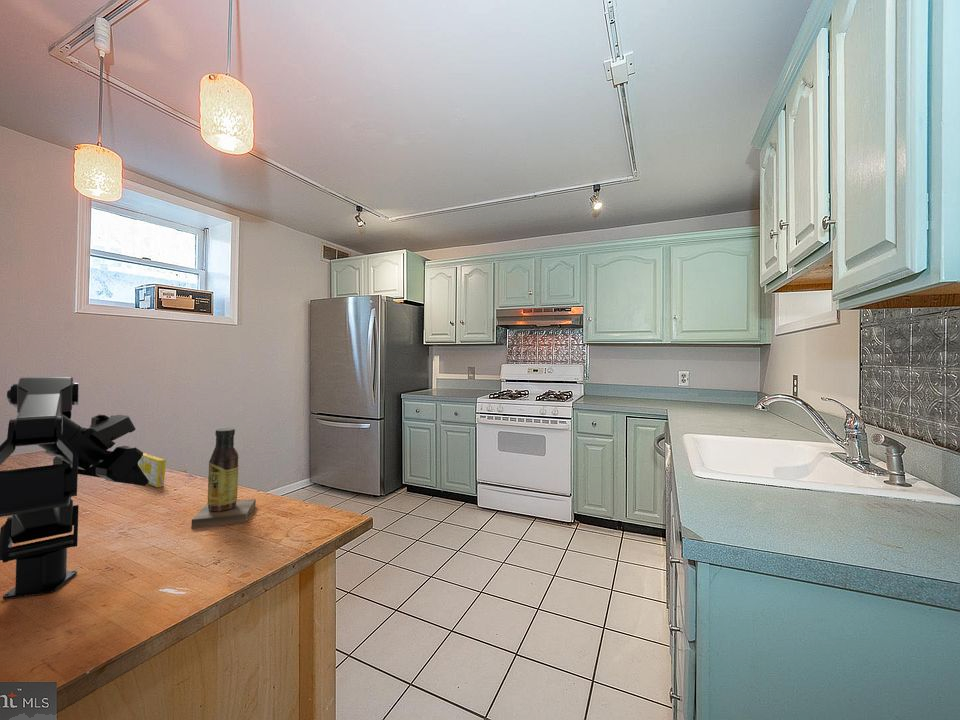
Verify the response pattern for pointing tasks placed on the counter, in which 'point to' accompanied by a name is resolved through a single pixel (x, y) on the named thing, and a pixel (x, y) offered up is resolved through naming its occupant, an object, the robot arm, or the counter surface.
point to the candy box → (153, 469)
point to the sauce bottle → (223, 472)
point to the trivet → (224, 515)
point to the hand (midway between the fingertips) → (132, 480)
